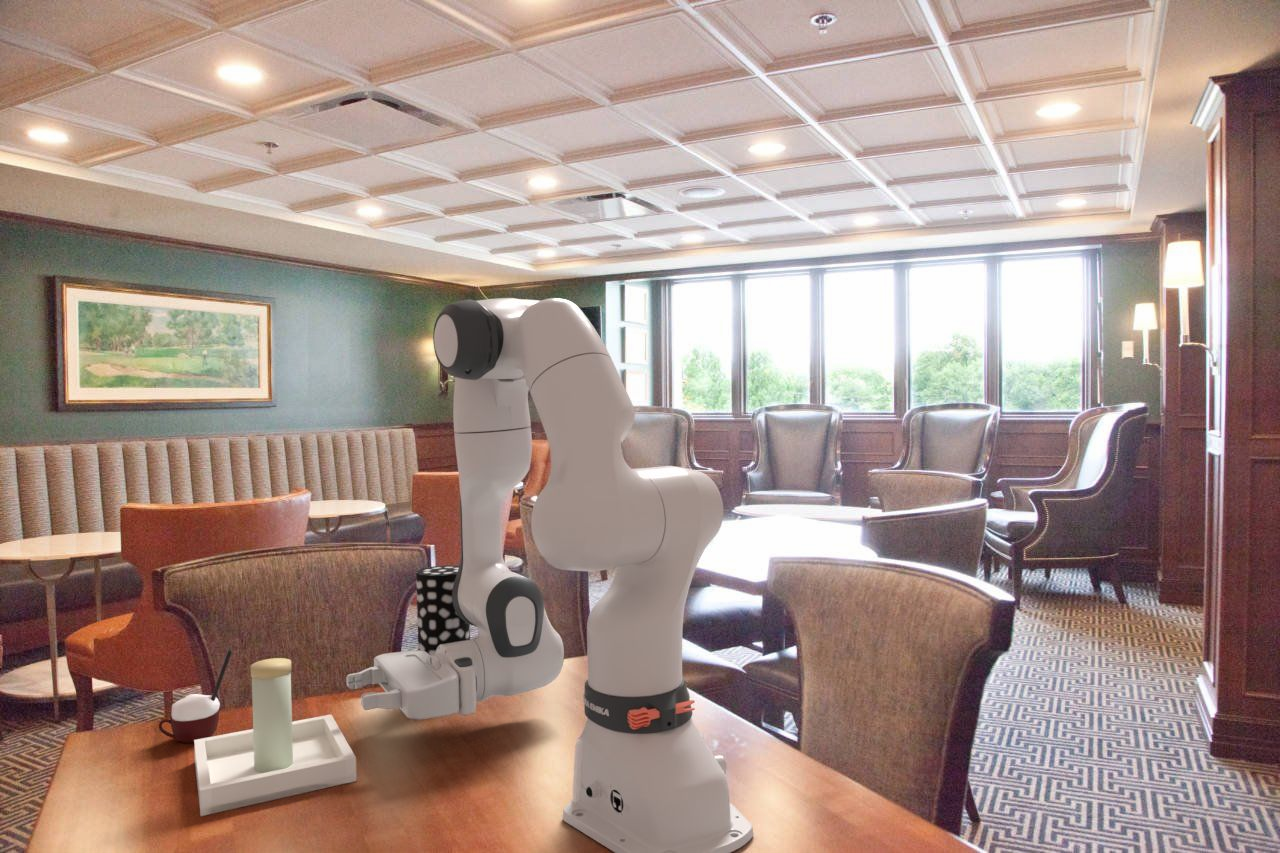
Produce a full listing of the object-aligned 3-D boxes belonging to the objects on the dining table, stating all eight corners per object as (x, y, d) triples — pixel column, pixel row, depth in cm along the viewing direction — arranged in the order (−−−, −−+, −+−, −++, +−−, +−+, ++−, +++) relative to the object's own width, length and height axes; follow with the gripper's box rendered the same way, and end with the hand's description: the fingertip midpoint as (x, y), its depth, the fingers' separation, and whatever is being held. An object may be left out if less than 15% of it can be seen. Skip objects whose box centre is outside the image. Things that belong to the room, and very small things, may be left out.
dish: (356, 780, 107) (355, 757, 107) (200, 816, 98) (199, 790, 98) (331, 735, 122) (331, 714, 122) (194, 762, 113) (194, 739, 113)
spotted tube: (458, 702, 135) (455, 576, 134) (410, 699, 136) (406, 574, 136) (479, 684, 143) (476, 566, 142) (432, 682, 144) (429, 565, 144)
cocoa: (155, 750, 119) (146, 666, 118) (178, 731, 125) (169, 651, 124) (224, 745, 119) (216, 661, 118) (243, 726, 125) (236, 646, 124)
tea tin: (296, 767, 109) (293, 665, 109) (255, 776, 107) (252, 671, 106) (291, 754, 113) (288, 656, 113) (251, 762, 111) (248, 661, 110)
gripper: (433, 635, 130) (338, 650, 124) (477, 670, 113) (370, 689, 106) (434, 676, 131) (340, 693, 124) (478, 717, 113) (371, 740, 106)
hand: (354, 692), depth 115 cm, fingers open, 8 cm apart
